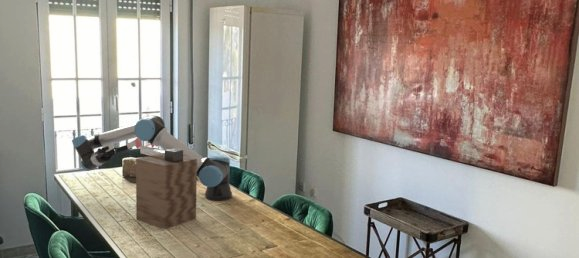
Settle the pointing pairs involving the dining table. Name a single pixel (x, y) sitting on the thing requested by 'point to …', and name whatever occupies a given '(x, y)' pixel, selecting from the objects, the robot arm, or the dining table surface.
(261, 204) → the dining table surface
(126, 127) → the robot arm
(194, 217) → the pedestal
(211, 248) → the dining table surface
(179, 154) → the light grey rectangular bar
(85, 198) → the dining table surface
